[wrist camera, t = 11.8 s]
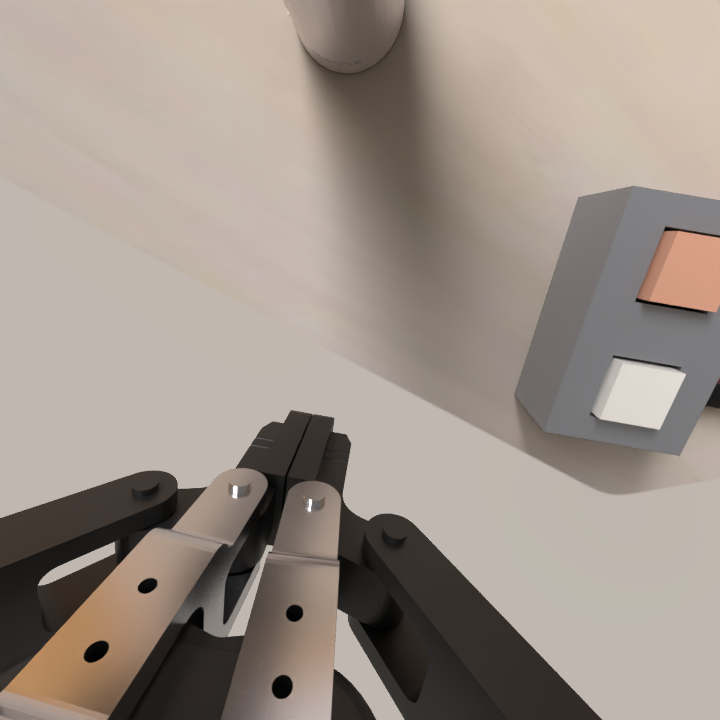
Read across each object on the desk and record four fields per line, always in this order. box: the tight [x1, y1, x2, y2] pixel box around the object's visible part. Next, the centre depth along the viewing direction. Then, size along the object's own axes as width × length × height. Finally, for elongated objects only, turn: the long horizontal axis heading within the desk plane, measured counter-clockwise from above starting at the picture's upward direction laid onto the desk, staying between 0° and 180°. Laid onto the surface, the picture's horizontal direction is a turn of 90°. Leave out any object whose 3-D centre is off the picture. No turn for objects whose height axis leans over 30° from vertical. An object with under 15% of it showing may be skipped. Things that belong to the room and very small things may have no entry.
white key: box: [591, 355, 686, 430], centre depth 33 cm, size 5×5×6 cm
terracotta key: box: [637, 231, 720, 312], centre depth 30 cm, size 5×5×6 cm
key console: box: [515, 186, 720, 456], centre depth 33 cm, size 20×12×8 cm, turn 171°
